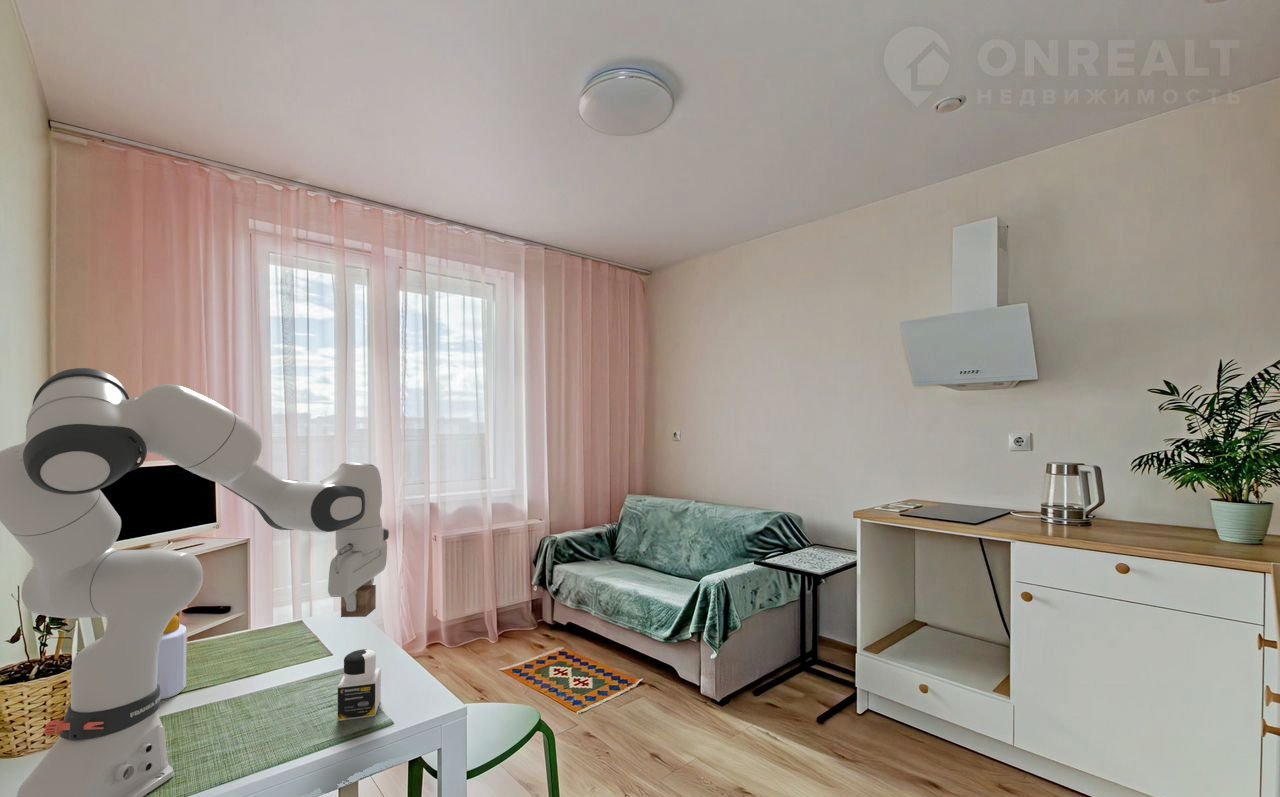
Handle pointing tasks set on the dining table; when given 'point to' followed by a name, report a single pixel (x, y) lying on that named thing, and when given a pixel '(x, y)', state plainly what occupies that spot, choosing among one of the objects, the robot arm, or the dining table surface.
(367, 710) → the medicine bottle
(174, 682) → the soap bottle
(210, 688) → the dining table surface
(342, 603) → the walnut cube
